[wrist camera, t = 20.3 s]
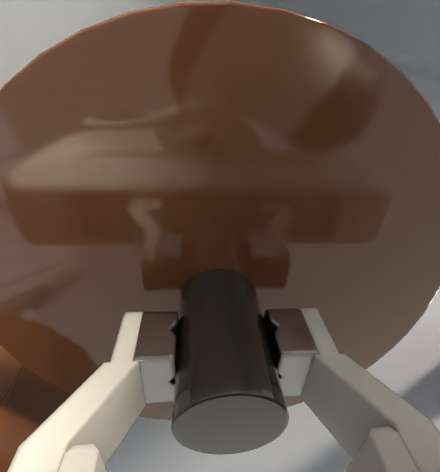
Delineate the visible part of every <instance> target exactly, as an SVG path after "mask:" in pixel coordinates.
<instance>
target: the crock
mask: <svg viewBox="0 0 440 472" xmlns="http://www.w3.org/2000/svg"><path fill="white" fill-rule="evenodd" d="M70 396H71V394H69V393H67V392H65V391H63V390H60V389H59V388H57V387H55V386H54V385H52V384H50V383H48V382H47V381H45V380H43V379H42V378H40V377H38V376H37V375H36V374H34V373H33V372H32V371H30V370H29V369H27V368H26V367H25V366H23V365H22V364H21V363H19V362H18V361H17V360H16V359H15V358H14V357H13V356H12V355H10V354H9V353H8V352H7V351H6V350H5V349H4V348H3V347H2V346H1V345H0V472H7V471H8V469H9V467H10V465H11V462H12V460H13V458H14V456H15V454H16V452H17V449H18V447H19V446H20V445H21V444H22V443H23V442H24V441H25V440H26V439H27V438H28V437H29V436H30V435H31V434H32V433H33V432H34V431H35V430H36V429H37V428H38V427H39V426H40V425H41V424H42V423H43V422H44V421H45V420H46V419H47V418H48V417H49V416H50V415H51V414H52V413H53V412H54V411H56V410H57V409H58V408H59V407H60V406H61V405H62V404H63V403H64V402H65V401H66V400H67V399H68V398H69V397H70Z"/></svg>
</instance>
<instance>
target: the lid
mask: <svg viewBox="0 0 440 472" xmlns="http://www.w3.org/2000/svg"><path fill="white" fill-rule="evenodd" d="M439 287H440V122H439V120H438V118H437V117H436V115H435V113H434V111H433V110H432V108H431V106H430V104H429V103H428V101H427V100H426V99H425V97H424V96H423V95H422V94H421V93H420V92H419V90H418V89H417V88H416V87H415V86H414V85H413V83H412V82H411V81H410V80H409V79H408V78H407V76H406V75H405V74H404V73H403V72H402V71H401V70H400V69H399V68H397V67H396V66H395V65H394V64H392V63H391V62H390V61H389V60H387V59H386V58H385V57H384V56H382V55H381V54H380V53H379V52H377V51H376V50H375V49H374V48H372V47H371V46H370V45H368V44H366V43H365V42H363V41H361V40H359V39H357V38H355V37H353V36H352V35H350V34H348V33H346V32H344V31H342V30H341V29H339V28H337V27H335V26H333V25H331V24H329V23H326V22H323V21H320V20H317V19H314V18H311V17H308V16H305V15H302V14H299V13H296V12H293V11H290V10H287V9H283V8H277V7H270V6H264V5H257V4H250V3H244V2H237V1H206V2H178V3H173V4H168V5H162V6H157V7H152V8H146V9H141V10H136V11H131V12H127V13H125V14H122V15H119V16H117V17H114V18H111V19H109V20H106V21H103V22H101V23H98V24H95V25H92V26H90V27H87V28H84V29H82V30H80V31H78V32H77V33H75V34H73V35H71V36H70V37H68V38H66V39H65V40H63V41H61V42H60V43H58V44H56V45H54V46H53V47H51V48H49V49H48V50H46V51H44V52H42V53H41V54H39V55H38V56H37V57H36V58H35V59H33V60H32V61H31V62H30V63H29V64H28V65H26V66H25V67H24V68H23V69H22V70H21V71H19V72H18V73H17V74H16V75H15V76H14V77H12V78H11V79H10V80H9V81H8V82H7V83H6V84H5V85H4V86H3V87H2V88H1V90H0V345H1V346H2V347H3V348H4V349H5V350H6V351H7V352H8V353H9V354H10V355H12V356H13V357H14V358H15V359H16V360H17V361H18V362H19V363H21V364H22V365H23V366H25V367H26V368H27V369H29V370H30V371H32V372H33V373H34V374H36V375H37V376H38V377H40V378H42V379H43V380H45V381H47V382H48V383H50V384H52V385H54V386H55V387H57V388H59V389H60V390H63V391H65V392H67V393H69V394H71V395H72V394H73V393H74V392H75V391H76V390H77V389H78V388H79V387H80V386H81V385H82V384H83V383H84V382H85V381H86V380H87V379H88V378H89V377H90V376H91V375H92V374H93V373H94V372H95V371H96V370H97V369H98V368H99V367H100V366H101V365H102V364H103V363H107V362H110V361H111V357H112V354H113V350H114V347H115V343H116V340H117V336H118V333H119V329H120V326H121V322H122V319H123V316H124V314H125V313H126V312H178V315H179V327H178V340H177V359H176V374H175V380H174V395H173V401H170V402H157V403H145V405H146V406H145V407H144V409H143V410H142V412H141V413H140V415H139V416H142V417H147V418H155V419H163V420H172V426H171V429H172V433H173V435H174V437H175V439H176V440H177V441H178V442H179V443H180V444H181V445H183V446H185V447H187V448H189V449H191V450H194V451H197V452H201V453H207V454H234V453H241V452H245V451H249V450H253V449H256V448H259V447H261V446H264V445H266V444H268V443H270V442H272V441H273V440H275V439H276V438H277V437H278V436H280V435H281V434H282V433H283V432H284V430H285V429H286V427H287V425H288V420H289V413H288V409H287V407H289V406H292V405H296V404H298V403H301V402H304V401H303V399H302V398H301V396H284V394H283V390H282V386H281V383H280V379H279V375H278V371H277V368H276V364H275V360H274V356H273V352H272V349H271V345H270V341H269V337H268V333H267V330H266V326H265V322H264V318H263V317H264V312H265V310H266V309H288V308H297V309H298V308H316V309H317V310H318V312H319V314H320V316H321V318H322V320H323V322H324V324H325V326H326V328H327V330H328V332H329V334H330V336H331V338H332V340H333V342H334V344H335V346H336V348H337V350H338V352H339V354H346V355H347V356H348V357H350V358H351V359H352V360H353V361H355V362H356V363H357V364H359V365H360V366H361V367H362V368H364V369H367V368H368V367H370V366H371V365H373V364H374V363H375V362H376V361H378V360H379V359H380V358H381V357H383V356H384V355H385V354H386V353H387V352H389V351H390V350H391V349H392V348H393V347H394V346H395V345H396V344H397V343H398V342H399V341H400V340H401V339H402V338H403V337H404V336H405V335H406V334H407V333H408V332H409V331H410V330H411V328H412V327H413V326H414V325H415V324H416V322H417V321H418V320H419V319H420V317H421V316H422V315H423V314H424V312H425V311H426V309H427V307H428V306H429V304H430V303H431V301H432V300H433V298H434V297H435V295H436V293H437V291H438V289H439Z"/></svg>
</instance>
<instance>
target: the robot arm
mask: <svg viewBox="0 0 440 472" xmlns="http://www.w3.org/2000/svg"><path fill="white" fill-rule="evenodd" d="M263 318H264V322H265V326H266V330H267V333H268V337H269V341H270V345H271V349H272V352H273V356H274V360H275V364H276V368H277V371H278V375H279V379H280V383H281V386H282V390H283V394H284V396H301V398H302V399H303V401H304V402H305V403H306V404H307V405H308V407H309V408H310V409H311V410H312V411H313V413H314V414H315V415H316V416H317V417H318V418H319V420H320V421H321V422H322V423H323V424H324V426H325V427H326V428H327V429H328V430H329V432H330V433H331V434H332V435H333V436H334V437H335V439H336V440H337V441H338V442H339V443H340V445H341V446H342V447H343V448H344V449H345V451H346V452H347V453H348V454H349V455H350V456H351V458H352V460H351V462H350V464H349V465H348V467H347V469H346V470H345V472H440V432H439V430H438V429H437V427H436V426H435V424H434V423H433V422H432V421H431V420H429V419H428V418H427V417H426V416H424V415H423V414H422V413H420V412H419V411H418V410H417V409H415V408H414V407H413V406H411V405H410V404H409V403H408V402H406V401H405V400H404V399H402V398H401V397H400V396H399V395H397V394H396V393H395V392H393V391H392V390H391V389H390V388H388V387H387V386H386V385H384V384H383V383H382V382H381V381H379V380H378V379H377V378H375V377H374V376H373V375H372V374H370V373H369V372H368V371H366V370H365V369H364V368H362V367H361V366H360V365H359V364H357V363H356V362H355V361H353V360H352V359H351V358H350V357H348V356H347V355H346V354H339V352H338V350H337V348H336V346H335V344H334V342H333V340H332V338H331V336H330V334H329V332H328V330H327V328H326V326H325V324H324V322H323V320H322V318H321V316H320V314H319V312H318V310H317V309H316V308H298V309H297V308H288V309H266V310H265V312H264V317H263ZM178 327H179V315H178V312H126V313H125V314H124V316H123V319H122V322H121V326H120V329H119V333H118V336H117V340H116V343H115V347H114V350H113V354H112V357H111V361H110V362H107V363H103V364H102V365H101V366H100V367H99V368H98V369H97V370H96V371H95V372H94V373H93V374H92V375H91V376H90V377H89V378H88V379H87V380H86V381H85V382H84V383H83V384H82V385H81V386H80V387H79V388H78V389H77V390H76V391H75V392H74V393H73V394H72V395H71V396H70V397H69V398H68V399H67V400H66V401H65V402H64V403H63V404H62V405H61V406H60V407H59V408H58V409H57V410H56V411H54V412H53V413H52V414H51V415H50V416H49V417H48V418H47V419H46V420H45V421H44V422H43V423H42V424H41V425H40V426H39V427H38V428H37V429H36V430H35V431H34V432H33V433H32V434H31V435H30V436H29V437H28V438H27V439H26V440H25V441H24V442H23V443H22V444H21V445H20V446H19V447H18V449H17V452H16V454H15V456H14V458H13V460H12V462H11V465H10V467H9V469H8V471H7V472H106V469H105V466H106V464H107V463H108V461H109V460H110V458H111V457H112V455H113V454H114V452H115V451H116V449H117V448H118V446H119V445H120V443H121V442H122V440H123V439H124V437H125V436H126V434H127V433H128V431H129V430H130V428H131V427H132V425H133V424H134V422H135V421H136V419H137V418H138V416H139V415H140V413H141V412H142V410H143V409H144V407H145V406H146V405H145V403H157V402H170V401H173V395H174V380H175V374H176V359H177V340H178Z"/></svg>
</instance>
